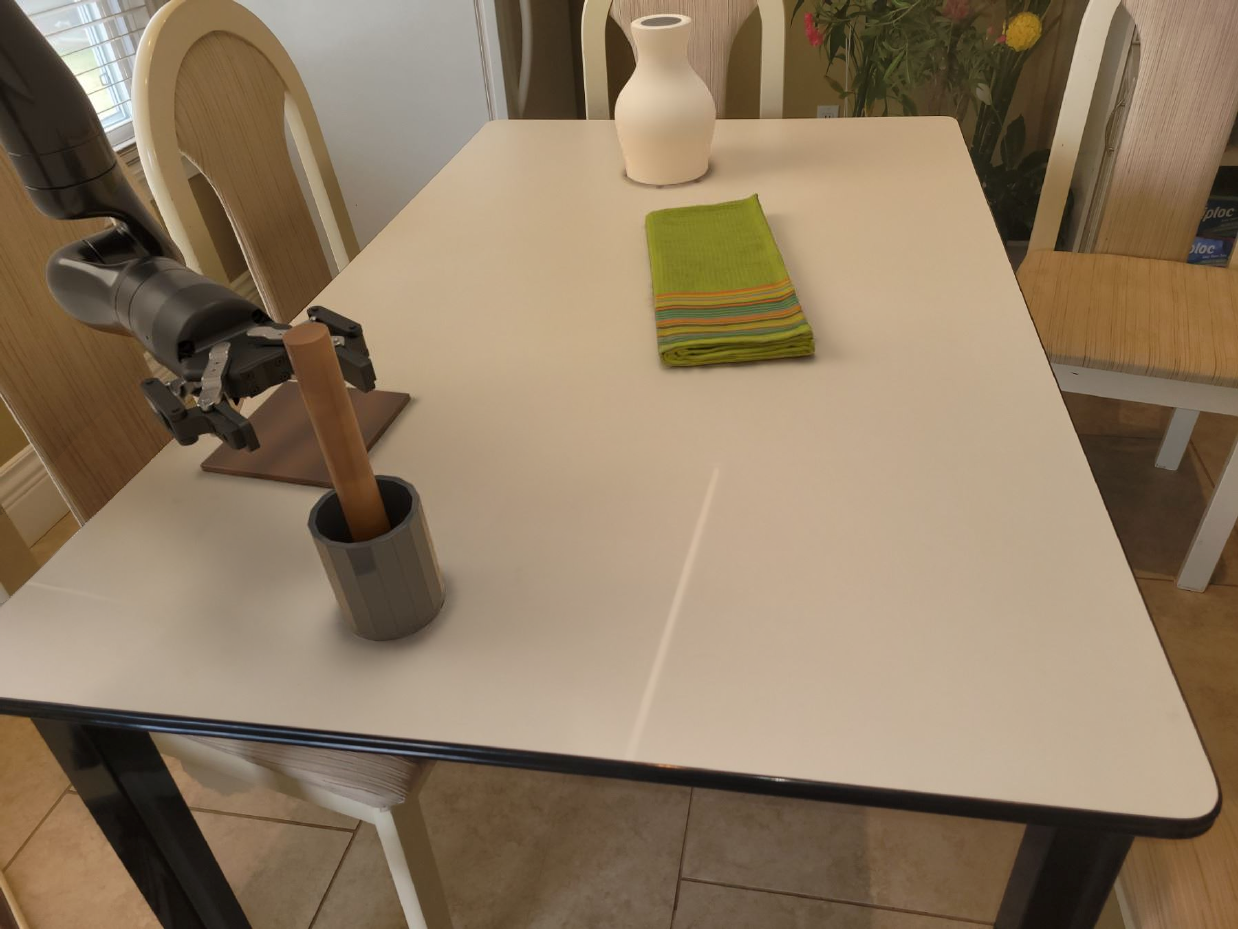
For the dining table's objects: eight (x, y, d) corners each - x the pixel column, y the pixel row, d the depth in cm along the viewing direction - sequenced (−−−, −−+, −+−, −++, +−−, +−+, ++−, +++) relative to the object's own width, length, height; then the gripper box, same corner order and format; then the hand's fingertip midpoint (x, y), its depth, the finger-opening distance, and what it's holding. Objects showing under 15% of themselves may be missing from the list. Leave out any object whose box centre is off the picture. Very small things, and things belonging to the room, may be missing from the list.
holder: (324, 631, 64) (286, 539, 58) (373, 559, 69) (343, 469, 64) (417, 648, 62) (387, 555, 56) (460, 573, 67) (437, 481, 62)
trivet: (201, 470, 80) (199, 465, 80) (287, 385, 90) (285, 380, 90) (338, 489, 76) (336, 483, 76) (411, 398, 87) (409, 393, 86)
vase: (696, 146, 137) (694, 2, 124) (730, 177, 126) (731, 23, 113) (607, 161, 134) (595, 16, 122) (633, 194, 123) (623, 39, 111)
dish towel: (660, 371, 87) (658, 342, 85) (643, 223, 115) (641, 199, 113) (817, 359, 87) (819, 330, 85) (761, 213, 115) (762, 189, 113)
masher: (347, 615, 64) (245, 351, 50) (378, 568, 67) (291, 310, 54) (407, 625, 63) (319, 358, 49) (436, 577, 66) (361, 315, 53)
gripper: (83, 324, 61) (185, 409, 51) (272, 250, 68) (391, 312, 59) (129, 414, 65) (230, 508, 56) (301, 336, 73) (416, 406, 63)
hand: (312, 407), depth 57 cm, fingers open, 8 cm apart
